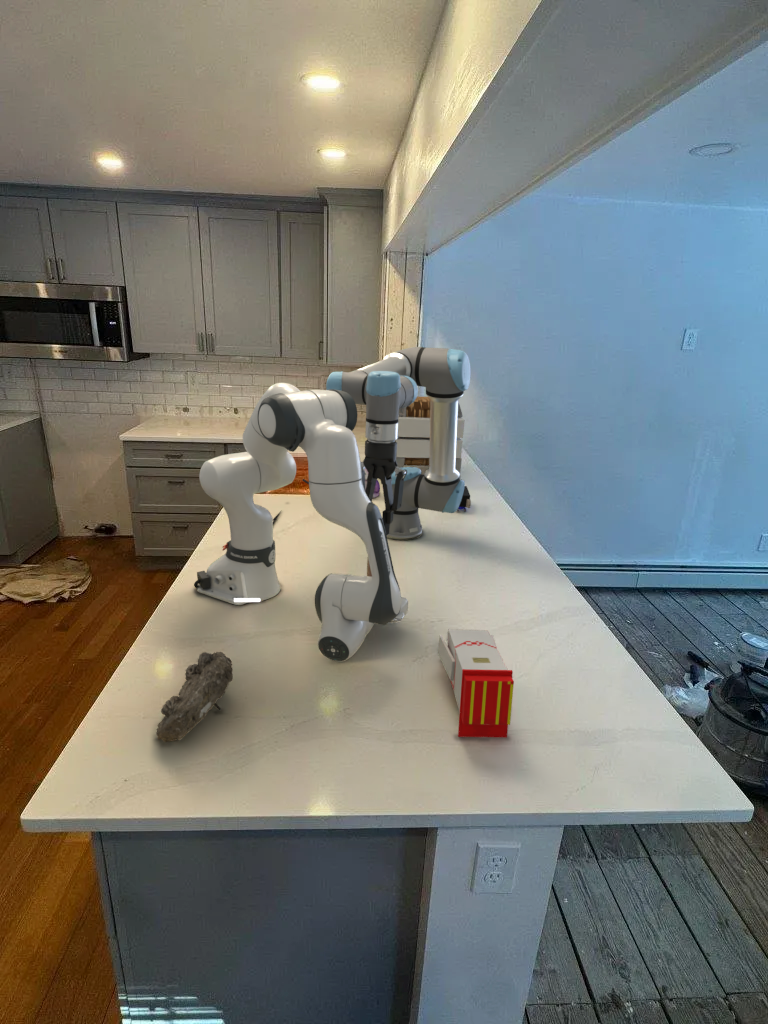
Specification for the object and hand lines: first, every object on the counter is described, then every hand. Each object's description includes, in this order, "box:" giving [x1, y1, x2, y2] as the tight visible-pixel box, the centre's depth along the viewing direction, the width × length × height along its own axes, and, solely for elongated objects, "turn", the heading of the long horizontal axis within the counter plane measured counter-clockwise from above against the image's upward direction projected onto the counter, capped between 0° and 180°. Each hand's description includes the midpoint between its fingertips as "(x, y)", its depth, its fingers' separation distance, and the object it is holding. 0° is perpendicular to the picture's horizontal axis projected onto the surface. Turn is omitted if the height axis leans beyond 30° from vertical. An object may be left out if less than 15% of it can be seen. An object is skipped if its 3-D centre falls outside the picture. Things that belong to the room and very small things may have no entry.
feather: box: [273, 510, 282, 526], centre depth 212 cm, size 2×28×2 cm
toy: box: [437, 628, 515, 738], centre depth 117 cm, size 12×13×30 cm
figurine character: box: [456, 485, 472, 513], centre depth 228 cm, size 7×8×15 cm
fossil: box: [155, 651, 234, 743], centre depth 109 cm, size 22×10×15 cm
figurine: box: [365, 468, 381, 499], centre depth 236 cm, size 9×10×15 cm
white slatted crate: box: [395, 395, 465, 480], centre depth 268 cm, size 34×33×41 cm
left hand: (375, 588), depth 146 cm, fingers closed on bottle, 4 cm apart
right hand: (377, 532), depth 140 cm, fingers closed on cap, 4 cm apart
